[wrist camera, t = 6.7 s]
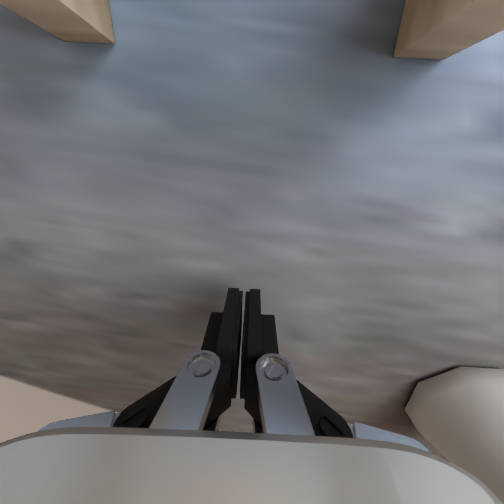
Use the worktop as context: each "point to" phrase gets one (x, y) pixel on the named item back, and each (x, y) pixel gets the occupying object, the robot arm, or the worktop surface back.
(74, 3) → the bridge
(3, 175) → the worktop surface
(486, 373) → the flask
